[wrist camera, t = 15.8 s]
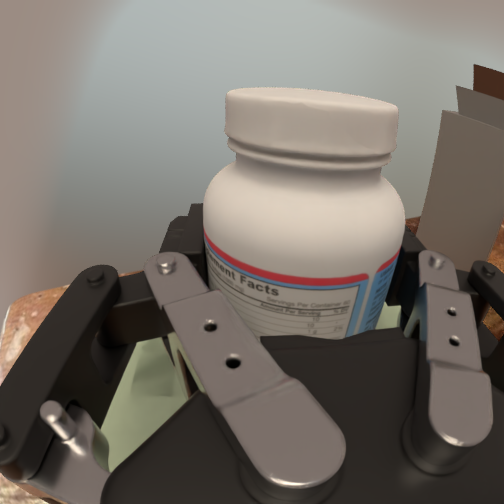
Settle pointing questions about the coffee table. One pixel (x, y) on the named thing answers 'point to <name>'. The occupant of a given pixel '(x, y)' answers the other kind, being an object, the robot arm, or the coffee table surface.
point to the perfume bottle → (468, 175)
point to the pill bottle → (305, 212)
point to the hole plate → (158, 395)
